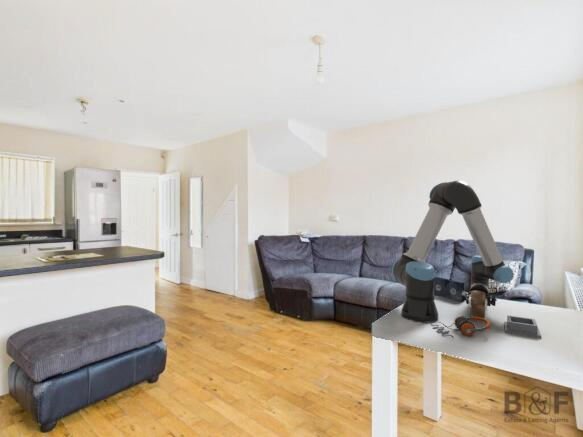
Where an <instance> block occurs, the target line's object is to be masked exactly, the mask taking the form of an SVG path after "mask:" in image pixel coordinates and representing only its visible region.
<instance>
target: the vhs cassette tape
mask: <svg viewBox="0 0 583 437" xmlns="http://www.w3.org/2000/svg"><path fill="white" fill-rule="evenodd" d="M462 291H465V282H462V281H460V280H459V281H457V280H452V279H449V278H446V277H445V278H444V277H440V276H436V275H435V277H434V296H437V297H440V298H444V299H448V300H451V301H454V302H460V303H463V301H462Z"/></svg>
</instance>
